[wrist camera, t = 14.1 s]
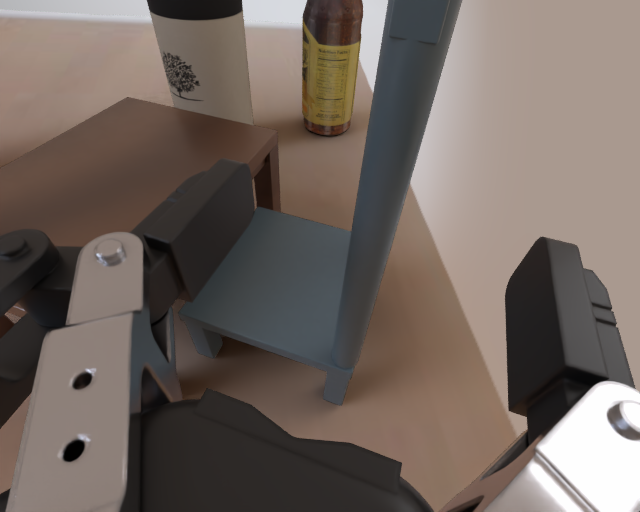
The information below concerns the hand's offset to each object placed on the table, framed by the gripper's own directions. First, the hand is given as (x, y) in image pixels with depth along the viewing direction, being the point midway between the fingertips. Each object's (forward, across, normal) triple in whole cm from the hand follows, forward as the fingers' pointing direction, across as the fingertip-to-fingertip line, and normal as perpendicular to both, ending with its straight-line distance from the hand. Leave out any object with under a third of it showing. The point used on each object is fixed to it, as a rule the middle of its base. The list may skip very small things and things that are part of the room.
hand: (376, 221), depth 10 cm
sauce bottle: (+33, +12, +15) cm, 38 cm away
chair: (+5, +4, +15) cm, 17 cm away
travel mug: (+24, +22, +15) cm, 36 cm away
